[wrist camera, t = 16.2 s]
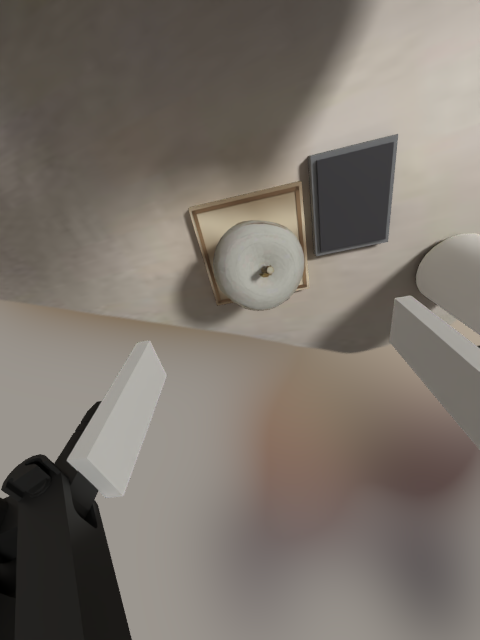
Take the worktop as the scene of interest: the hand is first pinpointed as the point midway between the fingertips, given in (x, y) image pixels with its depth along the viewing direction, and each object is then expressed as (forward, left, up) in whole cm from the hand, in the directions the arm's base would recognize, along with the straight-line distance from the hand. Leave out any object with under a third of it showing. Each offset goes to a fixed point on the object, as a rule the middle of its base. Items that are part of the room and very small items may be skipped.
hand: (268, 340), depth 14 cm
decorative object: (0, 0, -18) cm, 18 cm away
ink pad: (-3, +11, -19) cm, 22 cm away
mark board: (0, 0, -19) cm, 19 cm away
